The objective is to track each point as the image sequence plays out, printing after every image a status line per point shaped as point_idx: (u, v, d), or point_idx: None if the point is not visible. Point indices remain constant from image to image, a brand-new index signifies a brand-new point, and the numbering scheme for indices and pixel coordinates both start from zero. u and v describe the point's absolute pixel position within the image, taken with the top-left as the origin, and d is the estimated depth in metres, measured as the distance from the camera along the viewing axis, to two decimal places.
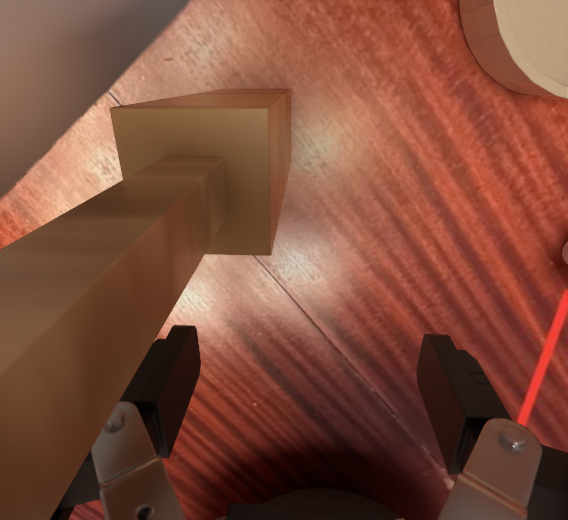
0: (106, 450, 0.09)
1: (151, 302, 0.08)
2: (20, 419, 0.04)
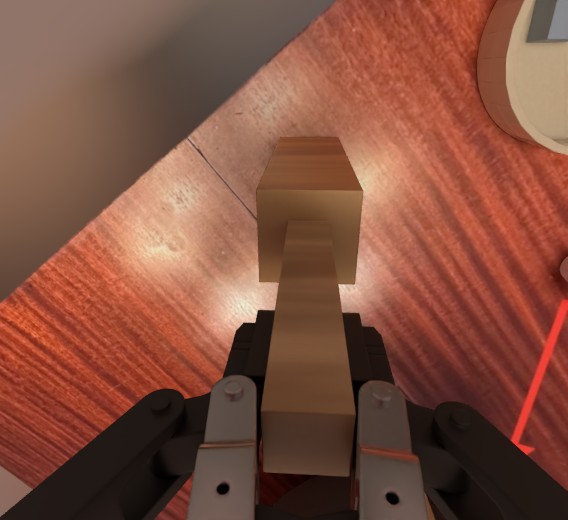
0: (237, 416, 0.09)
1: None
2: None
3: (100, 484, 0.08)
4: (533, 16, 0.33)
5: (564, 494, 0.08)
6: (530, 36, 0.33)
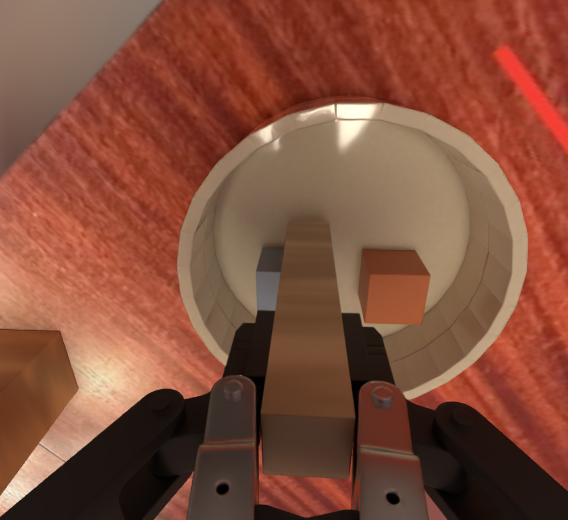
0: (237, 416, 0.09)
1: None
2: None
3: (100, 484, 0.08)
4: None
5: (565, 494, 0.08)
6: None
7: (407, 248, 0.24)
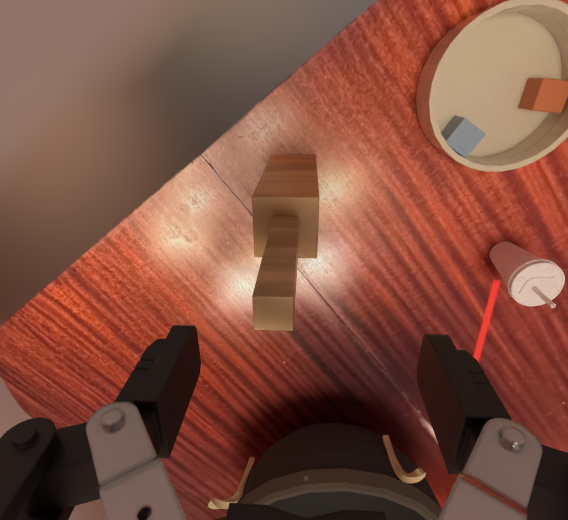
0: (106, 450, 0.09)
1: None
2: (294, 289, 0.24)
3: None
4: (447, 125, 0.48)
5: None
6: None
7: None
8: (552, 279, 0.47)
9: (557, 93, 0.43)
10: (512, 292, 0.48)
